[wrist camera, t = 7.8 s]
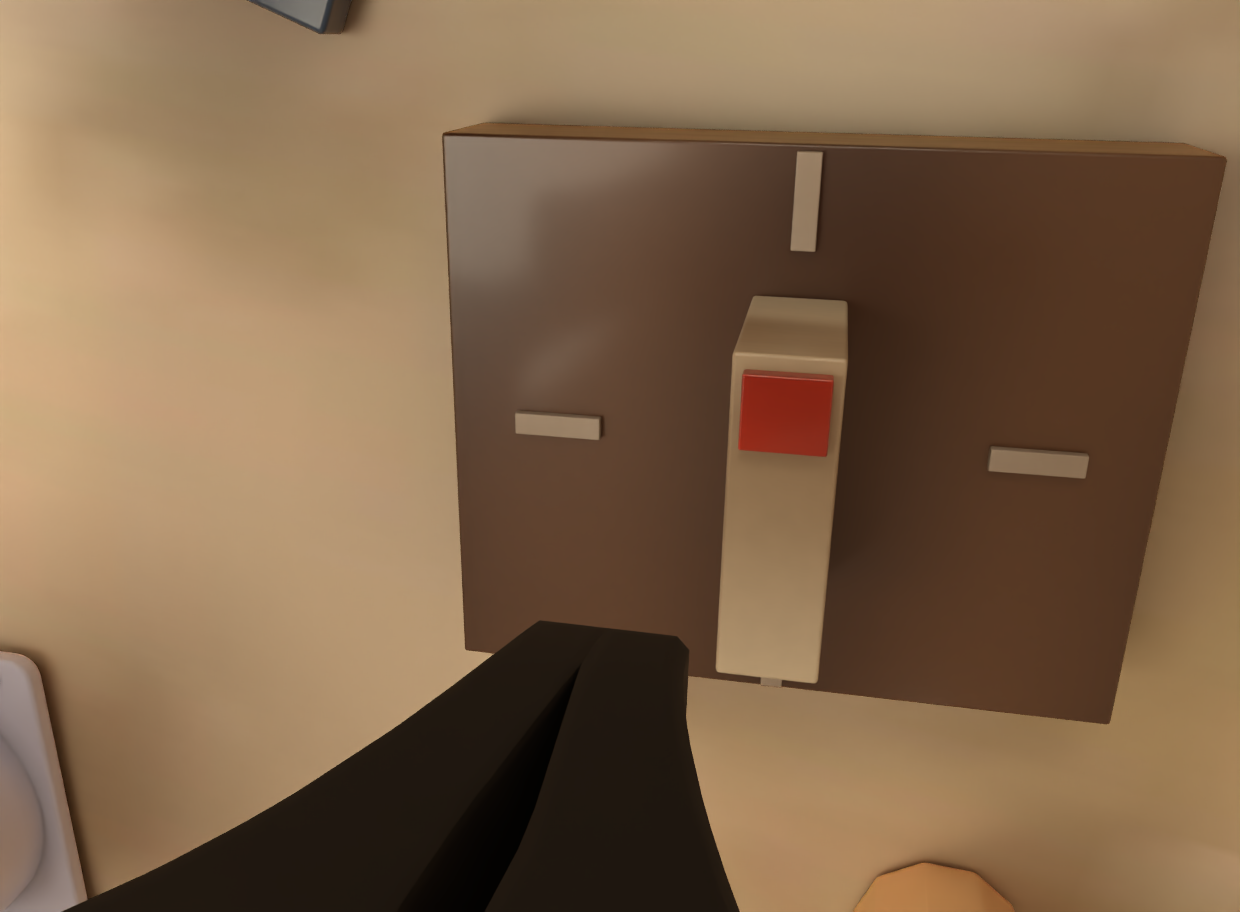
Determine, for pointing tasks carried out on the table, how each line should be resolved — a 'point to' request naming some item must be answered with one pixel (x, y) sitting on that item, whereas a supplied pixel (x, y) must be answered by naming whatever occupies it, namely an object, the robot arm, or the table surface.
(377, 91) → the table surface
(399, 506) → the table surface
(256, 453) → the table surface
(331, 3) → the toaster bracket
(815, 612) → the beige slab
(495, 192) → the block
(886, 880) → the milkshake
